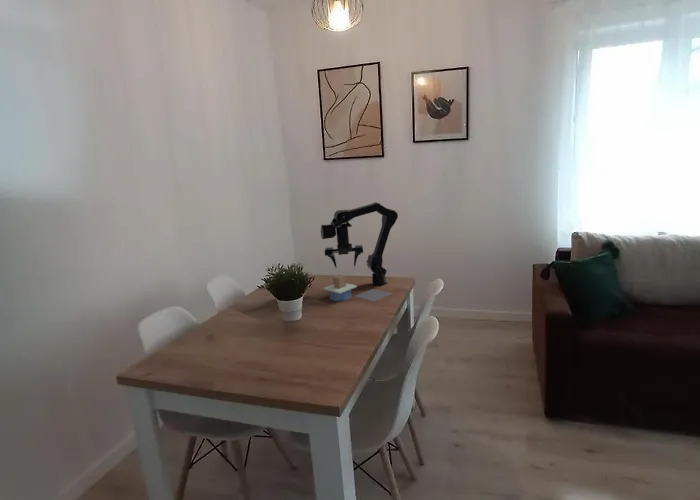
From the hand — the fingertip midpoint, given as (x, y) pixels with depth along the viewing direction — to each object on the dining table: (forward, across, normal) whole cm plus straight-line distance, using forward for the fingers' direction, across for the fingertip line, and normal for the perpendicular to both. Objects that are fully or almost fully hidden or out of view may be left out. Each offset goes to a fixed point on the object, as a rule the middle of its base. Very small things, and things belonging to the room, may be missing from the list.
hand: (345, 267), depth 226 cm
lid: (+7, -3, -11) cm, 14 cm away
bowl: (+12, -3, -11) cm, 17 cm away
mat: (+12, +13, -11) cm, 21 cm away
